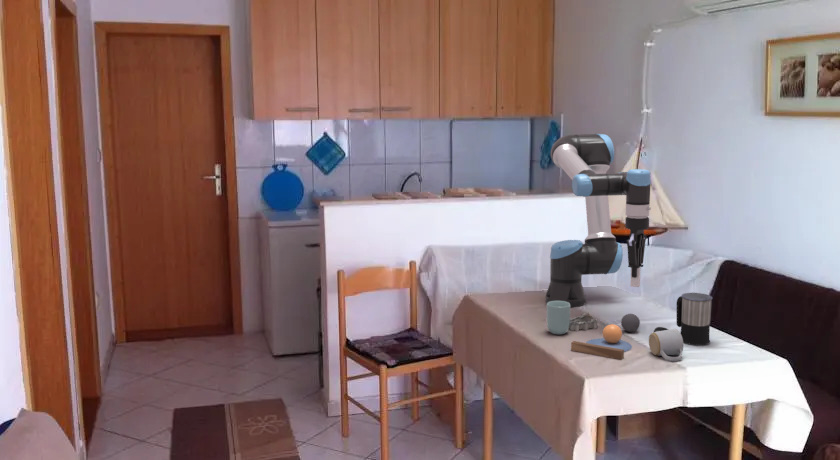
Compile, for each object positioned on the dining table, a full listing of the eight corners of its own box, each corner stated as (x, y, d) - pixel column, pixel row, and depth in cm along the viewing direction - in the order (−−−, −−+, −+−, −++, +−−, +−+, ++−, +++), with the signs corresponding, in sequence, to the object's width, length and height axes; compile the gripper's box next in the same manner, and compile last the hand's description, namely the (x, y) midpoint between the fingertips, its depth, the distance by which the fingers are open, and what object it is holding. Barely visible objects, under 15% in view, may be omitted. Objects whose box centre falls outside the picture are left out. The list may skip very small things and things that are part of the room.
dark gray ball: (622, 308, 255) (617, 324, 252) (640, 312, 252) (636, 328, 249) (625, 316, 259) (620, 332, 257) (642, 320, 257) (638, 336, 254)
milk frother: (716, 342, 242) (719, 296, 240) (682, 351, 234) (684, 304, 232) (680, 331, 254) (682, 287, 252) (646, 339, 246) (648, 294, 244)
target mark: (596, 336, 250) (596, 335, 250) (638, 343, 243) (638, 342, 243) (578, 347, 239) (578, 347, 239) (622, 355, 231) (622, 355, 231)
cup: (569, 336, 250) (570, 307, 249) (545, 335, 252) (546, 306, 250) (570, 329, 258) (570, 301, 256) (546, 328, 259) (547, 300, 258)
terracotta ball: (600, 323, 242) (598, 342, 242) (618, 326, 239) (617, 345, 239) (607, 322, 247) (605, 341, 247) (625, 325, 244) (623, 344, 244)
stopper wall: (573, 348, 238) (573, 340, 238) (623, 357, 229) (624, 349, 229) (571, 350, 237) (571, 342, 236) (621, 359, 228) (621, 351, 227)
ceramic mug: (646, 351, 235) (647, 327, 234) (671, 349, 236) (672, 325, 235) (663, 363, 225) (664, 338, 223) (689, 361, 226) (690, 336, 225)
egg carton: (589, 323, 266) (589, 312, 265) (600, 329, 259) (601, 317, 258) (561, 326, 263) (562, 314, 262) (572, 332, 256) (572, 320, 255)
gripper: (641, 220, 246) (639, 291, 250) (655, 214, 256) (652, 283, 260) (619, 218, 250) (617, 288, 254) (633, 213, 260) (631, 280, 264)
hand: (635, 286), depth 257 cm, fingers closed
